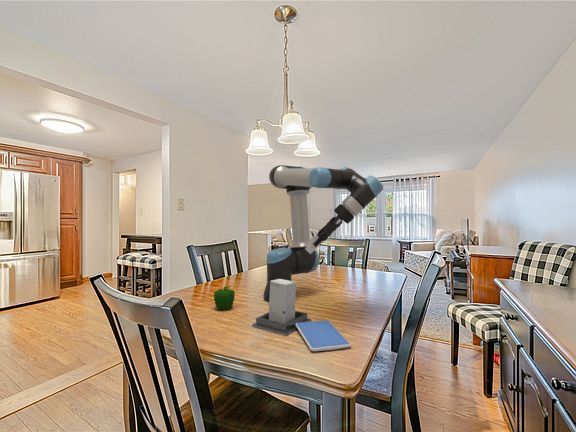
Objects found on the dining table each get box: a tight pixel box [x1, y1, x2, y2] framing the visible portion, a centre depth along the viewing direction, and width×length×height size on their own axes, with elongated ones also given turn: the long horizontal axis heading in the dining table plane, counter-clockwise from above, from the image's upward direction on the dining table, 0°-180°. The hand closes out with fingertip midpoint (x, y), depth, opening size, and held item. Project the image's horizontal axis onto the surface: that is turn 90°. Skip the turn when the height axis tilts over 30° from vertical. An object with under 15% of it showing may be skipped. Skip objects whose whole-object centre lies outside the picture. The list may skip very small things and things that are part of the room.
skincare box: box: [268, 279, 297, 324], centre depth 107 cm, size 8×6×15 cm
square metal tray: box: [251, 310, 312, 337], centre depth 107 cm, size 15×16×3 cm
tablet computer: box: [295, 319, 352, 352], centre depth 94 cm, size 19×13×1 cm, turn 13°
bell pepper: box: [213, 285, 236, 311], centre depth 125 cm, size 8×8×10 cm
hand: (307, 248), depth 113 cm, fingers open, 13 cm apart
